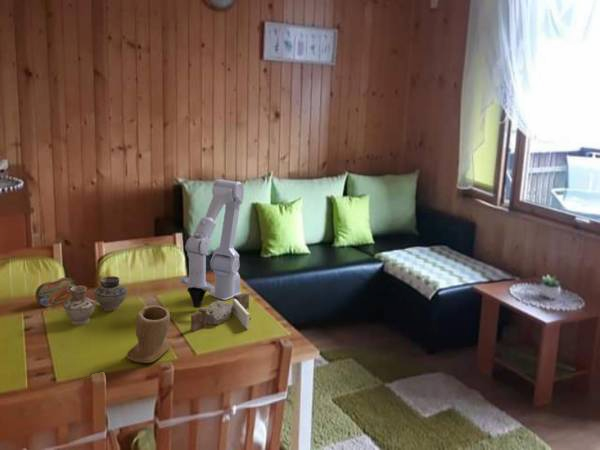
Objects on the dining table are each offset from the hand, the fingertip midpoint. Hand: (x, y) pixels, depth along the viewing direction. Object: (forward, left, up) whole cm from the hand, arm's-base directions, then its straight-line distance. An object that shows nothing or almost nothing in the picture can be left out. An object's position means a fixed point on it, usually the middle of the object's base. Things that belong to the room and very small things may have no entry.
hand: (197, 306), depth 211 cm
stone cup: (+32, +14, -2) cm, 35 cm away
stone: (0, +10, -2) cm, 10 cm away
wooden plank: (0, +11, -1) cm, 11 cm away
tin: (+28, -42, -2) cm, 50 cm away
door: (-4, +17, -1) cm, 18 cm away
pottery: (+25, -23, -2) cm, 34 cm away
